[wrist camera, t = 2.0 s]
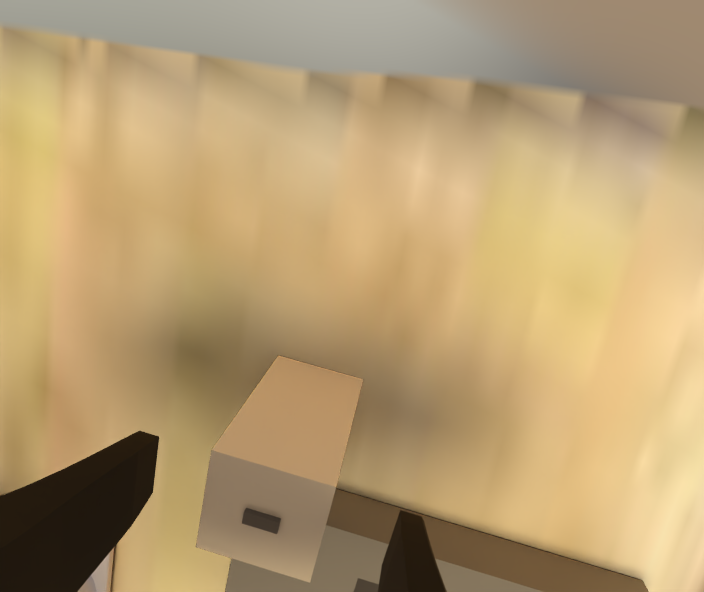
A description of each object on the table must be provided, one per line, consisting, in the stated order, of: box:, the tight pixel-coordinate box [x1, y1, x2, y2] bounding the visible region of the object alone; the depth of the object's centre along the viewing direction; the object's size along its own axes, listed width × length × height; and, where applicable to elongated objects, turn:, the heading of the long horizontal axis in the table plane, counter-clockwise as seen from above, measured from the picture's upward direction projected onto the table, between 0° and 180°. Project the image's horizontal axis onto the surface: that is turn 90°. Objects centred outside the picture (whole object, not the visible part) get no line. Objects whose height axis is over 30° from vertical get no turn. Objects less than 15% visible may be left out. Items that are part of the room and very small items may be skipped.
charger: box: [196, 355, 363, 583], centre depth 15 cm, size 3×3×6 cm
